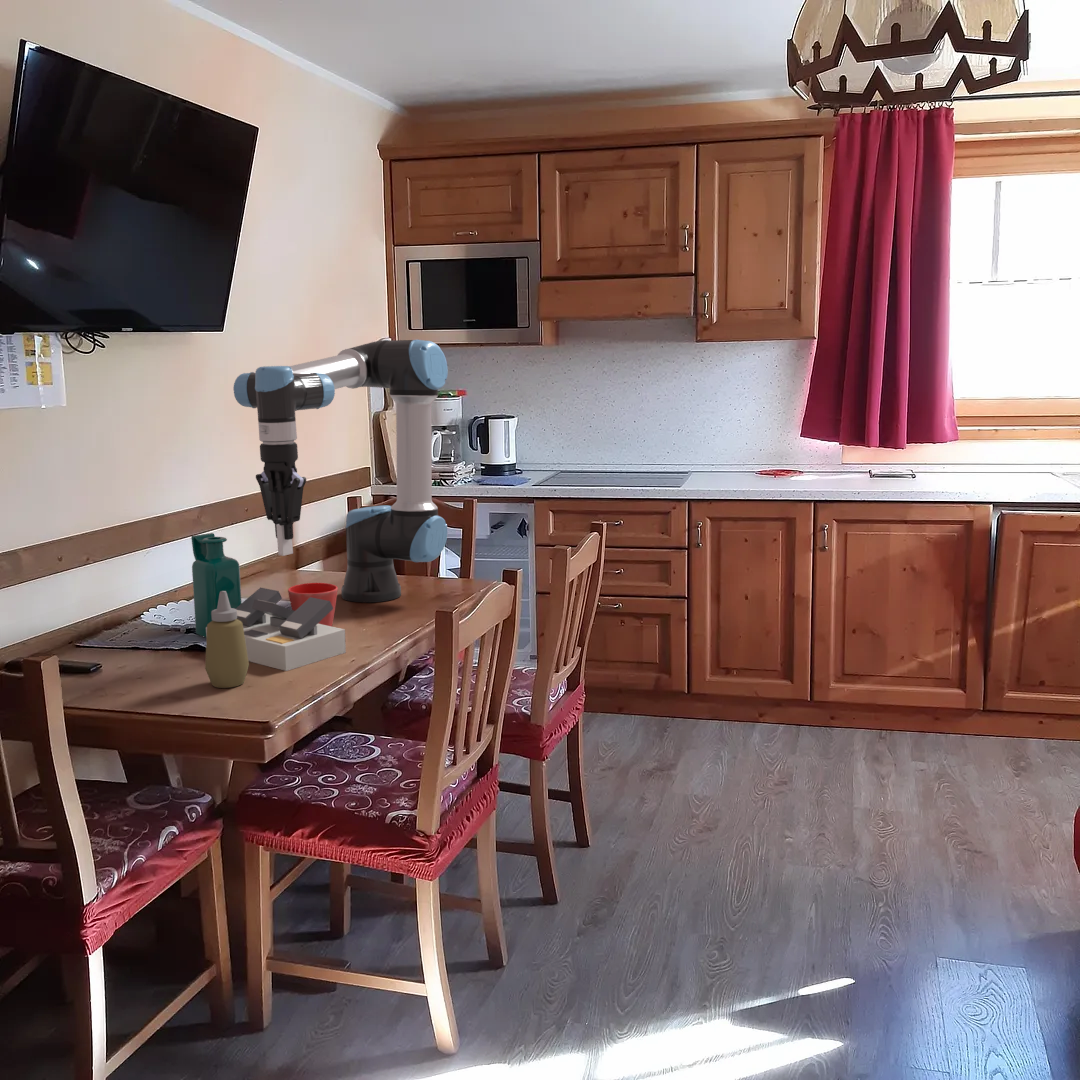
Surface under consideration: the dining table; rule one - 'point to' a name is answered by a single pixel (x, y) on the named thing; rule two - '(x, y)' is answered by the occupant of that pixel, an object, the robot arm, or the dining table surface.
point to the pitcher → (212, 578)
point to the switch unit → (290, 644)
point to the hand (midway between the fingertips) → (285, 554)
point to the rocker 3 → (305, 617)
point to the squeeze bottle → (225, 646)
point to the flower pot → (314, 590)
